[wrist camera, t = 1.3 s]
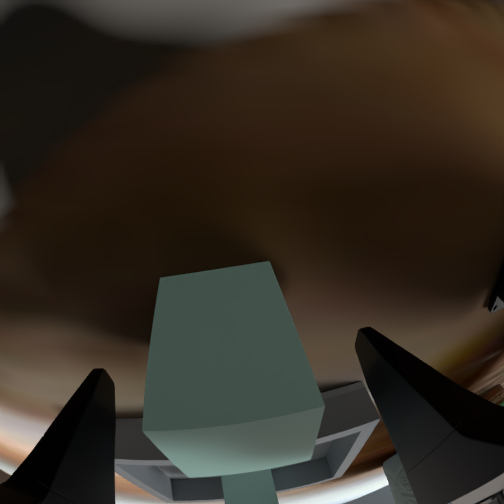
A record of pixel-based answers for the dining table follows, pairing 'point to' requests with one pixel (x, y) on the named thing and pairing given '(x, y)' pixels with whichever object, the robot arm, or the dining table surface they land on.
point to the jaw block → (228, 375)
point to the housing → (257, 482)
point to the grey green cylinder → (398, 481)
